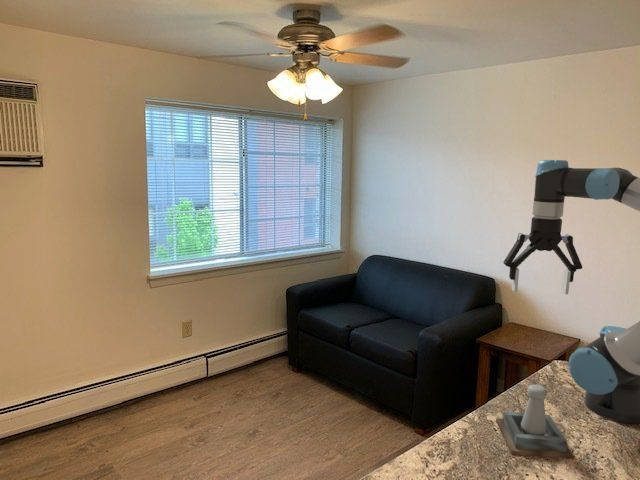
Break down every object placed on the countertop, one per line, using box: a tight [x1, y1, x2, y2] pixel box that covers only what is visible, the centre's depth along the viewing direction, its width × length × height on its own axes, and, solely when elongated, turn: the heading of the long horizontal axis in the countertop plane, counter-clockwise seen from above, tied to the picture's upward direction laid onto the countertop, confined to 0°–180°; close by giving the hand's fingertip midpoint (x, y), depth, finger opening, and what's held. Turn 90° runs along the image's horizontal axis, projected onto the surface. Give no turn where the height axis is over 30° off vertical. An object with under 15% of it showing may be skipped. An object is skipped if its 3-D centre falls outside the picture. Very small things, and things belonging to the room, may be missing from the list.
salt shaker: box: [521, 384, 548, 436], centre depth 115 cm, size 6×6×13 cm
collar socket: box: [495, 411, 575, 460], centre depth 116 cm, size 14×14×4 cm
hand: (539, 292), depth 131 cm, fingers open, 13 cm apart
